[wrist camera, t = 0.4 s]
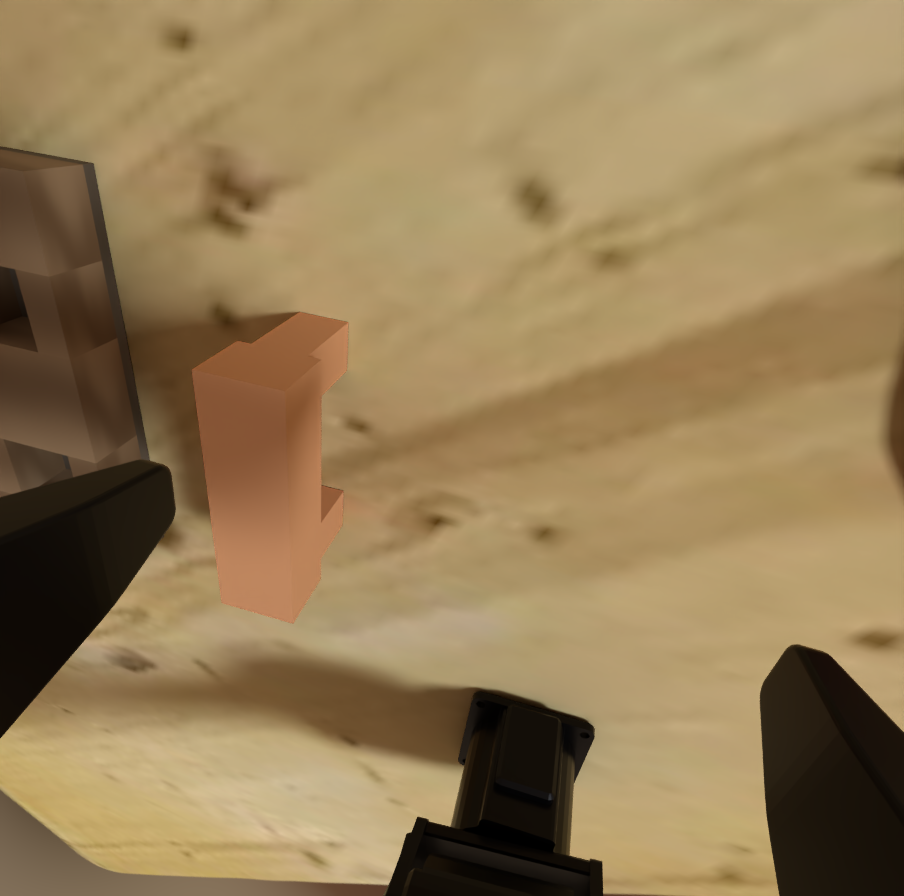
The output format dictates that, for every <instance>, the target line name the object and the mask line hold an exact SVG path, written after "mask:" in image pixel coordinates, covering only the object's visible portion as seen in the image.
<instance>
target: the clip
mask: <svg viewBox="0 0 904 896" xmlns="http://www.w3.org/2000/svg"><path fill="white" fill-rule="evenodd" d="M347 354H348V322H344V321H339V320H335V319H330V318H325V317H320V316H316V315H311V314H306V313H301V312H299V313H297V314H296V315H294V316H293V317H291V318H290V319H288V320H286V321H285V322H283V323H282V324H280V325H279V326H277V327H276V328H274V329H273V330H271V331H270V332H268V333H267V334H265V335H264V336H262V337H261V338H259V339H258V340H256V341H255V342H253V343H252V344H250V343H246V342H241V341H236V342H235V343H233V344H231V345H230V346H228V347H227V348H225V349H223V350H222V351H220V352H219V353H217V354H215V355H214V356H212V357H211V358H209V359H207V360H206V361H204V362H203V363H201V364H199V365H198V366H196V367H195V368H193V369H192V377H193V385H194V393H195V400H196V408H197V416H198V423H199V431H200V439H201V447H202V454H203V462H204V470H205V477H206V485H207V493H208V501H209V508H210V516H211V524H212V532H213V539H214V547H215V555H216V562H217V570H218V578H219V586H220V593H221V601H222V603H224V604H227V605H230V606H234V607H237V608H241V609H244V610H248V611H251V612H255V613H258V614H261V615H265V616H268V617H272V618H275V619H279V620H282V621H286V622H289V623H292V624H293V623H294V622H295V620H296V618H297V617H298V615H299V613H300V612H301V610H302V609H303V607H304V605H305V604H306V602H307V600H308V599H309V597H310V596H311V594H312V592H313V591H314V589H315V588H316V586H317V584H318V583H319V581H320V579H321V558H322V556H323V554H324V553H325V551H326V550H327V548H328V547H329V545H330V544H331V542H332V541H333V539H334V537H335V536H336V534H337V533H338V531H339V530H340V528H341V527H342V525H343V493H344V491H341V490H337V489H333V488H329V487H326V486H322V485H321V396H322V395H323V394H324V393H325V392H326V391H327V390H328V389H329V388H330V387H331V386H332V385H333V384H334V383H335V382H336V381H337V380H338V379H339V378H340V377H341V376H342V375H343V374H344V373H345V372H346V371H347Z"/></svg>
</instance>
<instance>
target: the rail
mask: <svg viewBox="0 0 904 896" xmlns="http://www.w3.org/2000/svg"><path fill="white" fill-rule="evenodd" d="M139 459H144V460H149V454H148V449H147V444H146V438H145V433H144V428H143V423H142V417H141V412H140V407H139V402H138V396H137V391H136V386H135V381H134V375H133V370H132V365H131V359H130V354H129V349H128V344H127V338H126V333H125V328H124V323H123V317H122V312H121V307H120V301H119V296H118V291H117V286H116V280H115V275H114V270H113V265H112V259H111V254H110V249H109V243H108V238H107V233H106V228H105V222H104V217H103V212H102V207H101V201H100V196H99V191H98V185H97V180H96V175H95V170H94V164H93V163H89V162H83V161H78V160H72V159H67V158H61V157H56V156H51V155H45V154H40V153H34V152H29V151H23V150H18V149H12V148H7V147H1V146H0V497H3V496H6V495H10V494H14V493H17V492H21V491H25V490H28V489H32V488H36V487H39V486H43V485H47V484H50V483H54V482H58V481H61V480H65V479H69V478H72V477H76V476H80V475H83V474H87V473H91V472H94V471H98V470H102V469H105V468H109V467H113V466H116V465H120V464H124V463H127V462H131V461H135V460H139ZM149 461H150V460H149ZM163 537H164V535H163ZM163 537H162V538H163ZM162 538H161V539H162Z"/></svg>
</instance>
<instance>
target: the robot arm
mask: <svg viewBox="0 0 904 896" xmlns="http://www.w3.org/2000/svg"><path fill="white" fill-rule="evenodd" d="M175 510H176V507H175V499H174V491H173V483H172V475H171V472H170V470H169V468H168V467H167V466H165V465H163V464H159V463H156V462H152V461H149V460H144V459H139V460H135V461H131V462H127V463H124V464H120V465H116V466H113V467H109V468H105V469H102V470H98V471H94V472H91V473H87V474H83V475H80V476H76V477H72V478H69V479H65V480H61V481H58V482H54V483H50V484H47V485H43V486H39V487H36V488H32V489H28V490H25V491H21V492H17V493H14V494H10V495H6V496H3V497H0V738H1V737H2V736H3V735H4V734H5V732H6V731H7V730H8V729H9V728H10V727H11V725H12V724H13V723H14V722H15V721H16V720H17V718H18V717H19V716H20V715H21V714H22V713H23V712H24V710H25V709H26V708H27V707H28V706H29V705H30V703H31V702H32V701H33V700H34V699H35V698H36V696H37V695H38V694H39V693H40V692H41V691H42V689H43V688H44V687H45V686H46V685H47V684H48V682H49V681H50V680H51V679H52V678H53V677H54V675H55V674H56V673H57V672H58V671H59V670H60V668H61V667H62V666H63V665H64V664H65V663H66V661H67V660H68V659H69V658H70V657H71V656H72V654H73V653H74V652H75V651H76V650H77V649H78V647H79V646H80V645H81V644H82V643H83V642H84V640H85V639H86V638H87V637H88V636H89V635H90V634H91V632H92V631H93V630H94V629H95V628H96V627H97V625H98V624H99V623H100V622H101V621H102V620H103V618H104V617H105V616H106V615H107V613H108V612H109V611H110V610H111V608H112V607H113V606H114V605H115V603H116V602H117V601H118V599H119V598H120V597H121V595H122V594H123V593H124V591H125V590H126V588H127V587H128V585H129V584H130V583H131V581H132V580H133V578H134V577H135V575H136V574H137V573H138V571H139V570H140V568H141V567H142V565H143V564H144V563H145V561H146V560H147V558H148V557H149V555H150V554H151V553H152V551H153V550H154V548H155V547H156V545H157V544H158V543H159V541H160V540H161V538H162V537H163V535H164V534H165V533H166V531H167V530H168V528H169V527H170V525H171V524H172V521H173V519H174V516H175ZM760 713H761V731H762V749H763V767H764V785H765V801H766V813H767V821H768V828H769V835H770V842H771V848H772V854H773V860H774V866H775V872H776V878H777V884H778V890H779V896H904V732H903V731H902V730H901V729H900V728H899V727H898V726H897V725H896V724H895V723H894V722H893V721H892V720H891V718H890V717H889V716H888V715H887V714H886V713H885V712H884V711H883V710H882V709H881V708H880V707H879V706H878V705H877V704H876V703H875V702H874V701H873V700H872V699H871V698H870V697H869V695H868V694H867V693H866V692H865V691H864V690H863V689H862V688H861V687H860V686H859V685H858V684H857V683H856V682H855V681H854V680H853V679H852V678H851V677H850V676H849V675H848V674H847V672H846V671H845V670H844V669H843V668H842V667H841V666H840V665H839V664H838V663H837V662H836V661H835V660H834V659H833V658H832V657H831V656H830V655H829V654H827V653H825V652H823V651H820V650H816V649H813V648H809V647H806V646H802V645H798V644H796V645H791V646H789V647H788V648H787V649H786V650H785V651H784V653H783V654H782V656H781V657H780V659H779V660H778V662H777V663H776V664H775V666H774V667H773V669H772V670H771V672H770V673H769V675H768V676H767V678H766V679H765V681H764V682H763V685H762V688H761V692H760ZM594 733H595V729H594V727H593V726H592V725H591V724H589V723H586V722H583V721H579V720H576V719H573V718H569V717H566V716H562V715H559V714H556V713H552V712H549V711H545V710H542V709H539V708H535V707H532V706H528V705H525V704H522V703H518V702H515V701H511V700H508V699H505V698H501V697H498V696H494V695H491V694H488V693H484V692H476V693H474V695H473V698H472V703H471V707H470V711H469V715H468V720H467V724H466V728H465V732H464V737H463V741H462V745H461V749H460V754H459V758H458V761H459V762H460V763H461V764H462V765H464V770H463V774H462V779H461V783H460V787H459V792H458V796H457V801H456V805H455V809H454V814H453V818H452V823H451V827H449V826H445V825H441V824H437V823H433V822H429V820H428V819H426V818H421V817H417V819H416V822H415V825H414V827H413V830H412V832H411V833H408V834H406V837H405V841H404V844H403V848H402V851H401V855H400V857H399V860H398V863H397V865H396V868H395V871H394V873H393V876H392V879H391V881H390V883H389V885H388V887H387V889H386V891H385V893H384V895H383V896H603V873H602V861H599V860H595V859H590V861H589V860H585V859H581V858H576V857H572V856H570V839H571V822H572V805H573V789H574V782H575V780H576V778H577V775H578V773H579V771H580V769H581V767H582V764H583V762H584V760H585V758H586V755H587V753H588V751H589V749H590V746H591V744H592V742H593V740H594Z"/></svg>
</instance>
